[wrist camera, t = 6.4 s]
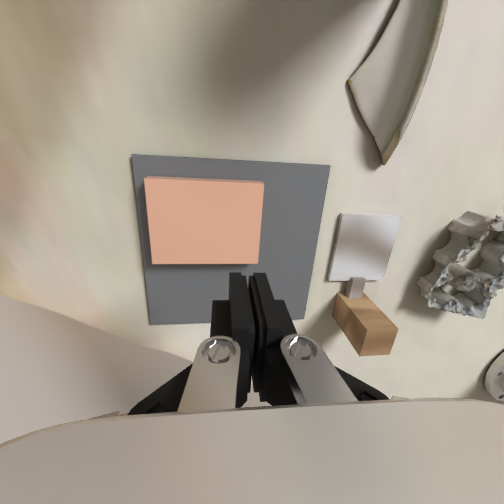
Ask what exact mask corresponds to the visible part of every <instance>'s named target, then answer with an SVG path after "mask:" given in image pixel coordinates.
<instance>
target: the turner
mask: <svg viewBox="0 0 504 504" xmlns="http://www.w3.org/2000/svg"><path fill="white" fill-rule="evenodd" d="M401 217H402V216H400V215H388V214H352V213H341V214H340V219H339V224H338V229H337V234H336V239H335V243H334V248H333V253H332V258H331V263H330V268H329V273H328V278H327V279H328V280H329V281H347V285H346V289H345V293H337V298H336V302H335V307H334V311H333V317H334V319H335V320H336V322H337V323H338V325H339V326H340V328H341V329H342V331H343V332H344V334H345V335H346V337H347V338H348V340H349V341H350V343H351V344H352V346H353V347H354V349H355V350H356V352H357V353H358V355H359V356H373V355H389V354H390V351H391V348H392V346H393V343H394V340H395V337H396V334H397V332H398V328H397V327H396V326H395V325H394V324H393V323H392V322H391V321H390V320H389V318H388V317H387V316H386V315H385V314H384V313H383V312H382V311H381V310H380V309H379V308H378V307H377V306H376V305H375V304H374V303H373V302H372V301H371V300H370V299H369V298H368V297H367V296H366V295H365V294H364V293H363V289H364V285H365V282H366V280H383V278H384V274H385V271H386V268H387V264H388V261H389V258H390V254H391V251H392V248H393V244H394V241H395V237H396V234H397V231H398V227H399V224H400V221H401Z"/></svg>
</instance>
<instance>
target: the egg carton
mask: <svg viewBox="0 0 504 504" xmlns="http://www.w3.org/2000/svg"><path fill="white" fill-rule="evenodd" d="M448 230H449V231H450V233H451V239H450V241H449V243H448V244H447V245H446V246H444V247H443V248H441V249H436V250H435V252H434V255H433V257H432V259H433V260H434V261H435V268H434V270H433V271H432V272H431V273H430V274H429V275H427V276H423V277H420V279H419V281H418V283H417V285H418V286H419V287H420V288H421V292H420V295H421V296H423V297H424V298H426V299H427V300H428V304H427V305H426V306H428V307H430V308H432V307H435V308H438V309H441V310H443V311H450V312H453V313H458V314H461V315H464V316H465V315H469V316H472V317H476V318H481V319H483V318H484V317H485V314H486V311H487V308H488V306H489V305H490V300H491V299H492V298H493V297H494V296H497V293H496V290H498V289H502V288H504V217H501V216H499V215H496V218H495V217H489V216H485V215H481V214H478V213H474V212H471V211H467V212H466V213H465V214H464V215H463V216H462V217H460V218H458V219H454V220H452V222H451V223H450V225H449V227H448ZM489 230H493V231H497V232H499V231H501V234H500V236H499V237H498V238H497V240H492V241H489V242H488V243H486V244H485V245H484V246H483V247H482V249H481V252H480V256H481V258H482V259H483V260H484V261H483V262H482V264H481V265H480V267H479V268H474V269H471V270H469V269H467V268H465V267H463V266H461V265H459V264H457V263H459V262H463V261H465V260H466V255H467V254H469V252H471V251H472V250H474V249H475V246H476V245H477V244H478V243H479V242H480V241H482V240H484V239H485V238H486V237H487V236H488V235H489ZM445 283H448V284H449V285H451V286H452V287H454V288H455V289H457V290H460V291H463V293H458V294H456V295H454V296H451V295H450V294H448V293H447V292H445V291H443V290H442V289H435V290H433V289H434V288H438V287H439V286H442V285H444V284H445ZM432 290H433V291H432Z"/></svg>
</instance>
